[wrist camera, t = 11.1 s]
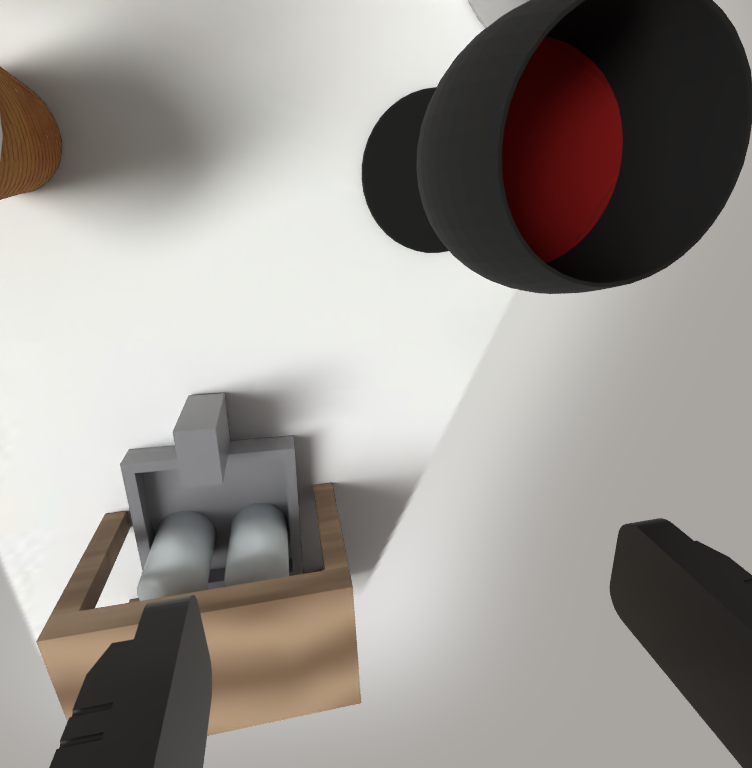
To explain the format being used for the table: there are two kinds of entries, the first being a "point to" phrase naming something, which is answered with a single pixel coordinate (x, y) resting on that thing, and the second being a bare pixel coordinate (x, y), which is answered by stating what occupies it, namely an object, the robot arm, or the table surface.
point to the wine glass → (569, 144)
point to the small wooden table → (227, 631)
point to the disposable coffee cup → (25, 139)
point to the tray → (212, 506)
